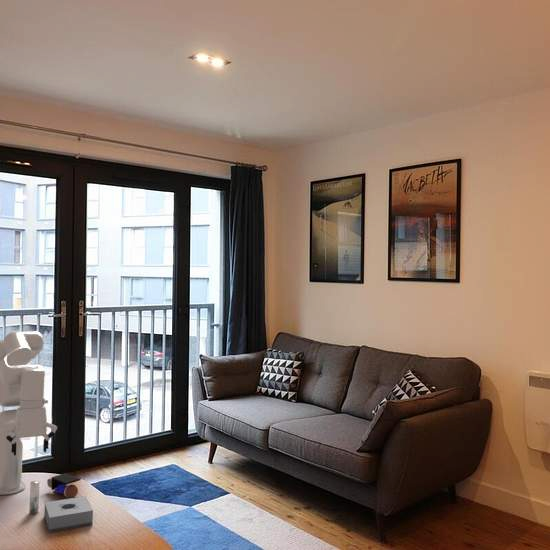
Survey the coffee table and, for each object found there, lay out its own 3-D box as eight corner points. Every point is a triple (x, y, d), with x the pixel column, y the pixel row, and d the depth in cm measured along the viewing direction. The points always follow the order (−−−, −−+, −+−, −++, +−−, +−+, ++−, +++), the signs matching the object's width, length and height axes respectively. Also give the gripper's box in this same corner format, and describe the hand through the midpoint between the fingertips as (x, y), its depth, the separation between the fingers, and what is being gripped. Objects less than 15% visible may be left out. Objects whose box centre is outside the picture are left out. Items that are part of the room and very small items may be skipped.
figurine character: (45, 495, 218) (66, 501, 208) (45, 475, 218) (66, 480, 209) (61, 491, 223) (82, 496, 214) (61, 471, 224) (81, 476, 214)
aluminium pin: (28, 511, 198) (30, 481, 199) (37, 510, 200) (38, 480, 200) (29, 515, 196) (30, 484, 196) (38, 513, 197) (39, 483, 197)
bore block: (44, 516, 195) (44, 502, 195) (85, 509, 202) (85, 496, 202) (49, 532, 183) (49, 517, 183) (92, 524, 189) (92, 510, 189)
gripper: (57, 399, 199) (55, 447, 199) (4, 403, 191) (2, 452, 191) (59, 404, 192) (57, 453, 192) (4, 408, 184) (2, 459, 184)
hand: (29, 452), depth 191 cm, fingers open, 9 cm apart
